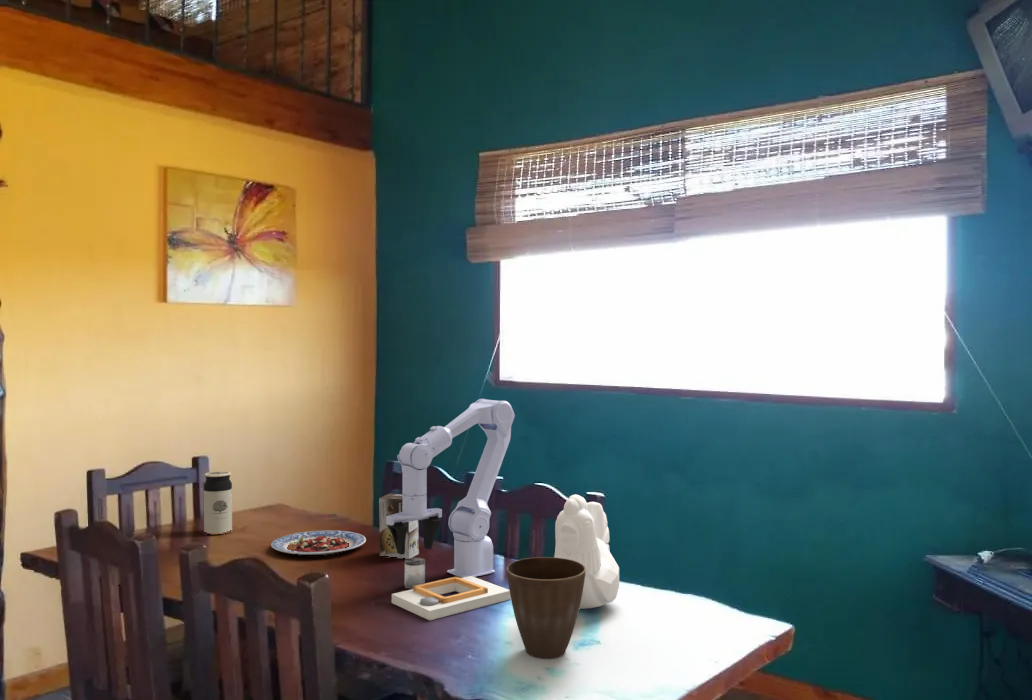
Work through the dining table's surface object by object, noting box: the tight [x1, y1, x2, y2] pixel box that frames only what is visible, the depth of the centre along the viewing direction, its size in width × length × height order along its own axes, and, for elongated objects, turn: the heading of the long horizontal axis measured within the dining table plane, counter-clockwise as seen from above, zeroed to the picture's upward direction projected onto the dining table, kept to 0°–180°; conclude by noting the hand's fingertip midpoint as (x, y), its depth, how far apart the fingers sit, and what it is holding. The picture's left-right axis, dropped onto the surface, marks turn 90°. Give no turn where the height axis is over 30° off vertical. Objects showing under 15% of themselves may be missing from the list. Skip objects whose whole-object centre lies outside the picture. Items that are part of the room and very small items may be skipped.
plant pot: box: [506, 556, 586, 660], centre depth 159 cm, size 15×15×16 cm
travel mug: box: [203, 470, 233, 533], centre depth 254 cm, size 8×8×18 cm
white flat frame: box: [391, 576, 511, 621], centre depth 189 cm, size 22×15×3 cm
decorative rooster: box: [553, 493, 620, 610], centre depth 189 cm, size 25×16×25 cm, turn 144°
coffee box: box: [378, 493, 420, 560], centre depth 228 cm, size 9×6×16 cm
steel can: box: [404, 557, 426, 590], centre depth 200 cm, size 5×5×6 cm
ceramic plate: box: [270, 529, 367, 556], centre depth 236 cm, size 26×26×3 cm
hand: (414, 551), depth 200 cm, fingers open, 7 cm apart
